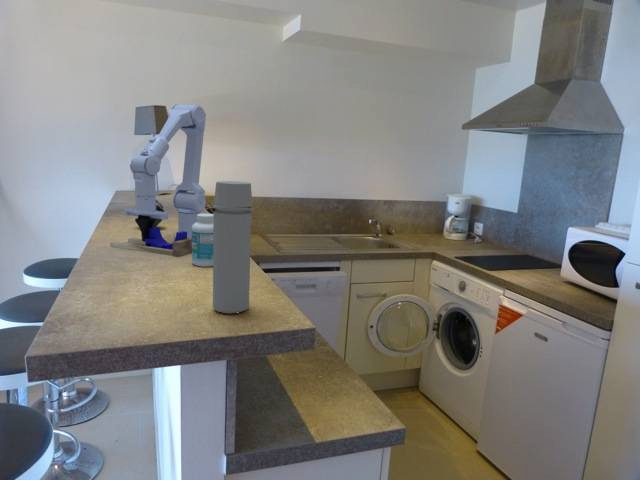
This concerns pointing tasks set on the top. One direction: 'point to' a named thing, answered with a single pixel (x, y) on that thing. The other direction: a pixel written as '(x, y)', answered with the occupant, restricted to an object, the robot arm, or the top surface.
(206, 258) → the pill bottle
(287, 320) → the top surface
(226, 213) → the water bottle
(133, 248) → the guide channel
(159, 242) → the blue cradle block
